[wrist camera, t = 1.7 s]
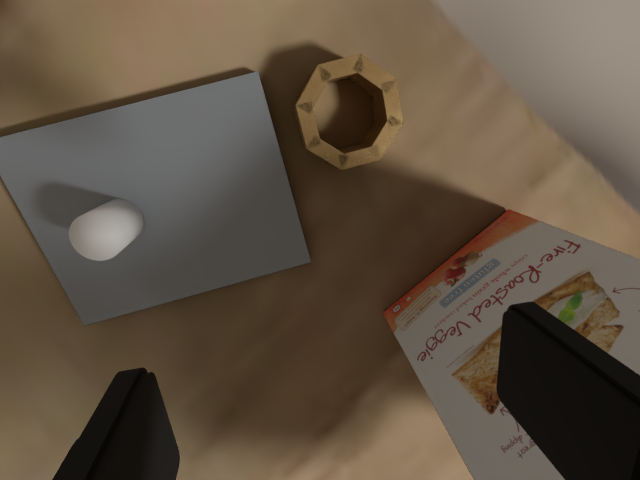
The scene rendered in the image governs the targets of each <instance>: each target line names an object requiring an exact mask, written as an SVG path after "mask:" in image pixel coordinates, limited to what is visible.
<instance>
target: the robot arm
mask: <svg viewBox="0 0 640 480" xmlns="http://www.w3.org/2000/svg"><path fill="white" fill-rule="evenodd" d="M496 390H497V394H498V397H499V399H500V401H501V402H502V404H503V405H504V406H505V407H506V409H507V410H508V411H509V412H510V414H511V415H512V416H513V417H514V418H515V420H516V421H517V422H518V423H519V424H520V426H521V427H522V428H523V429H524V431H525V432H526V433H527V434H528V435H529V437H530V438H531V439H532V440H533V441H534V443H535V444H536V445H537V446H538V448H539V449H540V450H541V451H542V452H543V454H544V455H545V456H546V457H547V458H548V460H549V461H550V462H551V463H552V465H553V466H554V467H555V468H556V469H557V471H558V472H559V473H560V474H561V475H562V477H563V478H564V479H565V480H640V375H639V374H637V373H636V372H634V371H633V370H631V369H630V368H629V367H627V366H626V365H624V364H623V363H621V362H620V361H618V360H617V359H616V358H614V357H613V356H611V355H610V354H608V353H607V352H605V351H604V350H603V349H601V348H600V347H598V346H597V345H595V344H594V343H593V342H591V341H590V340H588V339H587V338H585V337H584V336H582V335H581V334H580V333H578V332H577V331H575V330H574V329H572V328H571V327H569V326H568V325H567V324H565V323H564V322H562V321H561V320H559V319H558V318H556V317H555V316H554V315H552V314H551V313H549V312H548V311H546V310H545V309H543V308H542V307H541V306H539V305H538V304H536V303H534V302H524V303H518V304H512V305H510V306H509V307H508V309H507V311H505V312H504V313H503V317H502V329H501V340H500V352H499V363H498V375H497V386H496ZM179 461H180V456H179V449H178V446H177V443H176V440H175V437H174V434H173V430H172V427H171V424H170V421H169V418H168V415H167V412H166V408H165V405H164V402H163V399H162V396H161V393H160V389H159V386H158V383H157V380H156V377H155V375H154V373H153V372H150V373H148V372H147V370H146V369H145V368H138V369H132V370H126V371H120V372H118V373H117V374H116V375H115V377H114V379H113V380H112V382H111V384H110V386H109V387H108V389H107V391H106V393H105V394H104V396H103V398H102V399H101V401H100V403H99V405H98V406H97V408H96V410H95V411H94V413H93V415H92V417H91V418H90V420H89V422H88V424H87V425H86V427H85V429H84V430H83V432H82V434H81V436H80V437H79V439H77V440H76V442H75V443H74V444H73V446H72V447H71V449H70V451H69V452H68V454H67V456H66V457H65V459H64V461H63V462H62V464H61V466H60V468H59V469H58V471H57V473H56V474H55V476H54V478H53V479H52V480H176V476H177V472H178V468H179Z"/></svg>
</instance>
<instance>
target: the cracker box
mask: <svg viewBox="0 0 640 480" xmlns="http://www.w3.org/2000/svg"><path fill="white" fill-rule="evenodd" d="M524 302H534V303H536V304H538V305H539V306H541V307H542V308H543V309H545V310H546V311H548V312H549V313H551V314H552V315H554V316H555V317H556V318H558V319H559V320H561V321H562V322H564V323H565V324H567V325H568V326H569V327H571V328H572V329H574V330H575V331H577V332H578V333H580V334H581V335H582V336H584V337H585V338H587V339H588V340H590V341H591V342H593V343H594V344H595V345H597V346H598V347H600V348H601V349H603V350H604V351H605V352H607V353H608V354H610V355H611V356H613V357H614V358H616V359H617V360H618V361H620V362H621V363H623V364H624V365H626V366H627V367H629V368H630V369H631V370H633V371H634V372H636V373H637V374H639V375H640V259H638V258H636V257H633V256H630V255H628V254H625V253H623V252H620V251H617V250H615V249H612V248H610V247H607V246H604V245H602V244H599V243H596V242H594V241H591V240H588V239H586V238H583V237H581V236H578V235H576V234H573V233H570V232H568V231H565V230H563V229H560V228H558V227H555V226H552V225H549V224H547V223H544V222H541V221H538V220H536V219H533V218H531V217H528V216H525V215H522V214H520V213H517V212H515V211H512V210H507V211H506V212H505V213H504V214H502V215H501V216H500V217H499V218H498V219H497V220H496V221H494V222H493V223H492V224H491V225H489V226H488V227H487V228H486V229H484V230H483V231H482V232H481V233H479V234H478V235H477V236H476V237H475V238H474V239H472V240H471V241H470V242H469V243H467V244H466V245H465V246H464V247H463V248H461V249H460V250H459V251H458V252H456V253H455V254H454V255H453V256H452V257H450V258H449V259H448V260H447V261H445V262H444V263H443V264H442V265H441V266H439V267H438V268H437V269H436V270H434V271H433V272H432V273H431V274H430V275H428V276H427V277H426V278H425V279H423V280H422V281H421V282H420V283H418V284H417V285H416V286H415V287H414V288H412V289H411V290H410V291H409V292H407V293H406V294H405V295H404V296H403V297H401V298H400V299H399V300H398V301H396V302H395V303H394V304H393V305H391V306H390V307H389V308H388V309H387V310H385V311H384V312H383V315H384V317H385V318H386V320H387V322H388V324H389V326H390V328H391V330H392V332H393V334H394V335H395V337H396V339H397V341H398V342H399V344H400V346H401V348H402V350H403V351H404V353H405V355H406V357H407V359H408V360H409V362H410V364H411V366H412V368H413V369H414V371H415V373H416V375H417V377H418V379H419V381H420V382H421V384H422V386H423V388H424V390H425V391H426V393H427V395H428V397H429V399H430V401H431V402H432V404H433V406H434V408H435V410H436V411H437V413H438V415H439V417H440V419H441V421H442V422H443V424H444V426H445V428H446V430H447V432H448V433H449V435H450V437H451V439H452V441H453V443H454V444H455V446H456V448H457V450H458V452H459V454H460V455H461V457H462V459H463V461H464V463H465V465H466V466H467V468H468V470H469V472H470V474H471V475H472V477H473V479H474V480H565V479H564V478H563V477H562V475H561V474H560V473H559V472H558V471H557V469H556V468H555V467H554V466H553V465H552V463H551V462H550V461H549V460H548V458H547V457H546V456H545V455H544V454H543V452H542V451H541V450H540V449H539V448H538V446H537V445H536V444H535V443H534V441H533V440H532V439H531V438H530V437H529V435H528V434H527V433H526V432H525V431H524V429H523V428H522V427H521V426H520V424H519V423H518V422H517V421H516V420H515V418H514V417H513V416H512V415H511V414H510V412H509V411H508V410H507V409H506V407H505V406H504V405H503V404H502V402H501V401H500V399H499V397H498V394H497V390H496V386H497V375H498V363H499V352H500V340H501V329H502V317H503V313H504V312H505V311H507V309H508V307H509V306H510V305H512V304H518V303H524Z"/></svg>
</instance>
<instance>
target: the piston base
mask: <svg viewBox="0 0 640 480" xmlns="http://www.w3.org/2000/svg"><path fill="white" fill-rule="evenodd" d="M0 176H1V178H2V180H3V182H4V184H5V185H6V187H7V189H8V191H9V192H10V194H11V196H12V198H13V200H14V201H15V203H16V205H17V207H18V209H19V210H20V212H21V214H22V216H23V218H24V219H25V221H26V223H27V225H28V226H29V228H30V230H31V232H32V234H33V235H34V237H35V239H36V241H37V243H38V244H39V246H40V248H41V250H42V252H43V253H44V255H45V257H46V259H47V260H48V262H49V264H50V266H51V268H52V269H53V271H54V273H55V275H56V277H57V278H58V280H59V282H60V284H61V286H62V287H63V289H64V291H65V293H66V294H67V296H68V298H69V300H70V302H71V303H72V305H73V307H74V309H75V311H76V312H77V314H78V316H79V318H80V320H81V321H82V323H83V325H84V326H85V325H89V324H93V323H96V322H100V321H103V320H107V319H110V318H114V317H117V316H121V315H125V314H128V313H132V312H135V311H139V310H142V309H146V308H150V307H153V306H157V305H160V304H164V303H167V302H171V301H174V300H178V299H182V298H185V297H189V296H192V295H196V294H199V293H203V292H207V291H210V290H214V289H217V288H221V287H224V286H228V285H231V284H235V283H239V282H242V281H246V280H249V279H253V278H256V277H260V276H263V275H267V274H271V273H274V272H278V271H281V270H285V269H288V268H292V267H296V266H299V265H303V264H306V263H310V262H311V260H310V256H309V253H308V249H307V246H306V242H305V238H304V235H303V231H302V228H301V224H300V220H299V217H298V213H297V210H296V206H295V202H294V199H293V195H292V192H291V188H290V184H289V181H288V177H287V174H286V170H285V166H284V163H283V159H282V156H281V152H280V148H279V145H278V141H277V138H276V134H275V130H274V127H273V123H272V120H271V116H270V112H269V109H268V105H267V102H266V98H265V94H264V91H263V87H262V84H261V80H260V76H259V73H258V71H257V72H253V73H249V74H245V75H242V76H238V77H234V78H230V79H226V80H222V81H218V82H214V83H210V84H206V85H202V86H199V87H195V88H191V89H187V90H183V91H179V92H175V93H171V94H167V95H163V96H159V97H156V98H152V99H148V100H144V101H140V102H136V103H132V104H128V105H124V106H120V107H116V108H113V109H109V110H105V111H101V112H97V113H93V114H89V115H85V116H81V117H77V118H73V119H70V120H66V121H62V122H58V123H54V124H50V125H46V126H42V127H38V128H34V129H30V130H27V131H23V132H19V133H15V134H11V135H7V136H3V137H0Z"/></svg>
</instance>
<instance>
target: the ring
mask: <svg viewBox="0 0 640 480" xmlns="http://www.w3.org/2000/svg"><path fill="white" fill-rule="evenodd" d="M346 78H349V79H350V80H352V81H353V82H355V83H356V84H357V85H359V86H360V87H362V88H363V89H365V90H366V91H367V92H369V93H370V96H371V101H372V107H373V112H374V118H375V121H374V123H373V125H372V126H371V128H370V130H369V131H368V133H367V135H366V136H365V138H364V140H363V141H362V143H361V144H358V145H354V146H350V147H347V148H343V149H339V150H337V149H336V148H334V147H333V146H331V145H329V144H328V143H326V142H325V141H323V140H321V139H320V137H319V132H318V128H317V124H316V120H315V115H314V111H313V107H314V105H315V103H316V102H317V100H318V98H319V96H320V95H321V93H322V91H323V89H324V87H325V86H326V84H327V83H331V82H334V81H338V80H342V79H346ZM293 109H294V113H295V117H296V121H297V125H298V129H299V132H300V136H301V140H302V144H303V146H304V147H305V148H306V149H308V150H309V151H311V152H313V153H314V154H316V155H318V156H319V157H321V158H322V159H324V160H326V161H327V162H329V163H331V164H332V165H334V166H336V167H337V168H339V169H341V170H344V169H348V168H352V167H355V166H359V165H363V164H366V163H370V162H374V161H377V160H381V158H382V156H383V155H384V153H385V152H386V150H387V148H388V147H389V145H390V144H391V142H392V140H393V139H394V137H395V136H396V134H397V132H398V131H399V129H400V128H401V126H402V124H403V119H402V113H401V106H400V100H399V93H398V87H397V81H396V79H395V78H394V77H393V76H391V75H390V74H388V73H387V72H386V71H384V70H383V69H382V68H380V67H379V66H377V65H376V64H375V63H373V62H372V61H371V60H369V59H368V58H366V57H365V56H364V55H362V54H358V55H354V56H350V57H346V58H342V59H338V60H334V61H330V62H326V63H322V64H319V65H317V66H316V68H315V69H314V70H313V71H312V73H311V75H310V77H309V79H308V80H307V82H306V84H305V86H304V88H303V90H302V91H301V93H300V95H299V97H298V99H297V101H296V103H295V104H294V106H293Z"/></svg>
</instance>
